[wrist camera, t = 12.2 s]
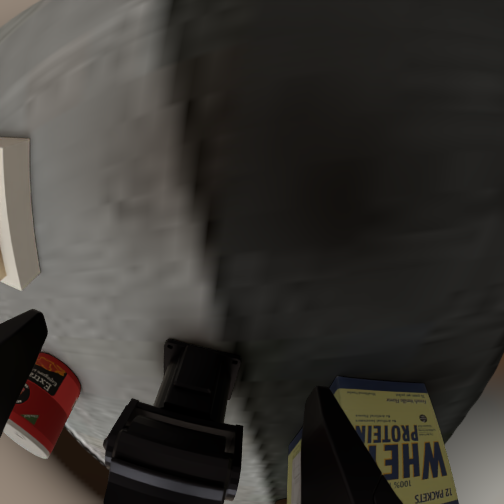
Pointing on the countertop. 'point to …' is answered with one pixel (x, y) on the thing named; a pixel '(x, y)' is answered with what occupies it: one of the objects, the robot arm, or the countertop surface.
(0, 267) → the pallet
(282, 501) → the olive oil
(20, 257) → the white flat block
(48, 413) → the canned food
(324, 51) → the countertop surface
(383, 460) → the protein box
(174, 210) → the countertop surface
